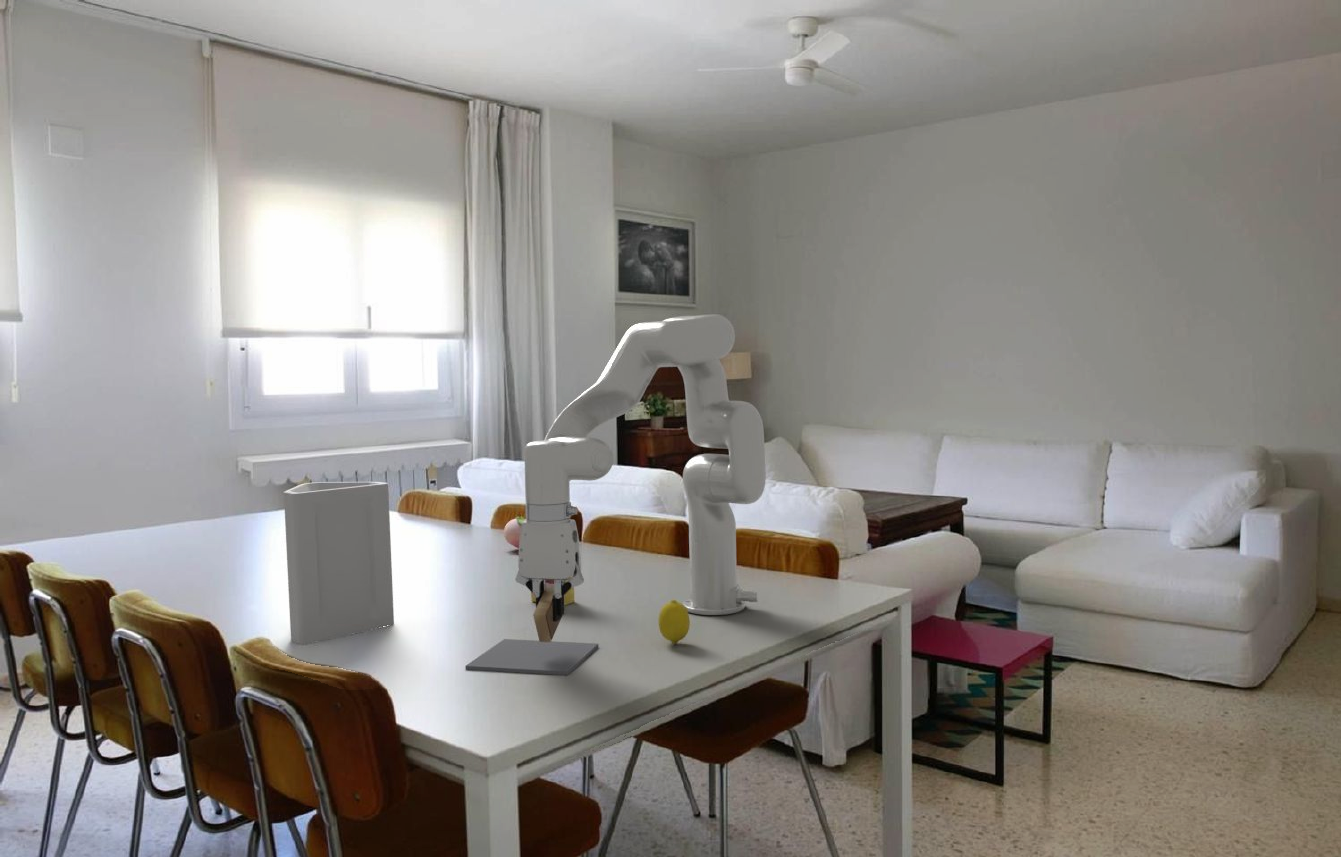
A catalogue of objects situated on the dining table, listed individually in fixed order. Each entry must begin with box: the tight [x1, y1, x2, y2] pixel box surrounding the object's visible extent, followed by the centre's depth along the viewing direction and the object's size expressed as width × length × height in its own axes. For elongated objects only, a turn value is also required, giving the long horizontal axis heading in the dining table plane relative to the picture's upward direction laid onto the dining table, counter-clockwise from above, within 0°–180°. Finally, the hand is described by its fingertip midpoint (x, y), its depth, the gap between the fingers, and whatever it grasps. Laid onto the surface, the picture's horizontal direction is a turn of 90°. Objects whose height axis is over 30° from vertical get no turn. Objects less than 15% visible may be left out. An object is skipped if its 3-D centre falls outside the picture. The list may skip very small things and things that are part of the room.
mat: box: [465, 638, 599, 676], centre depth 167 cm, size 18×16×1 cm
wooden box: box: [532, 584, 565, 642], centre depth 166 cm, size 2×6×8 cm
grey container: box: [283, 481, 395, 646], centre depth 189 cm, size 19×15×28 cm
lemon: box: [658, 599, 691, 645], centre depth 173 cm, size 6×6×8 cm
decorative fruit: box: [503, 513, 526, 550], centre depth 265 cm, size 9×8×10 cm
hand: (550, 618), depth 166 cm, fingers closed on wooden box, 1 cm apart
